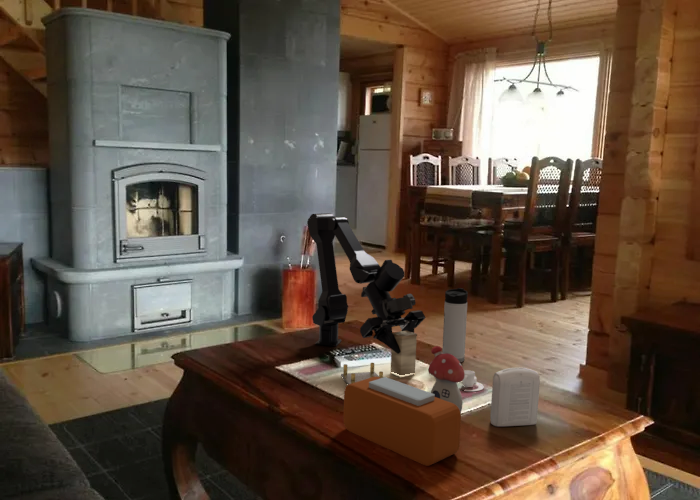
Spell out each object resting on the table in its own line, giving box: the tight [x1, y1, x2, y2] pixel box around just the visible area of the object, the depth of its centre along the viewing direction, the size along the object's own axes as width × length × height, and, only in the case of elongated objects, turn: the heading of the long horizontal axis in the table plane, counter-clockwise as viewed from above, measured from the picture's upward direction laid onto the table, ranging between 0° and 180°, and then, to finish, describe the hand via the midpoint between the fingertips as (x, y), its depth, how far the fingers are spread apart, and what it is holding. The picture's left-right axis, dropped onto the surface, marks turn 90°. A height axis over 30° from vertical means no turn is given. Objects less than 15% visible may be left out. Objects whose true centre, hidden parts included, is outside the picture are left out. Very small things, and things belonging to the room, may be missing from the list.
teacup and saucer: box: [462, 369, 485, 392], centre depth 166 cm, size 9×8×4 cm
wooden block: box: [390, 330, 418, 375], centre depth 173 cm, size 4×5×11 cm
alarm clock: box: [342, 376, 462, 467], centre depth 132 cm, size 24×8×11 cm, turn 44°
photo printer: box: [489, 366, 541, 427], centre depth 143 cm, size 10×4×12 cm, turn 103°
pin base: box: [340, 362, 384, 385], centre depth 167 cm, size 9×9×3 cm
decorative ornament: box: [428, 345, 465, 413], centre depth 146 cm, size 9×6×15 cm
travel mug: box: [441, 287, 468, 363], centre depth 187 cm, size 6×7×20 cm
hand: (407, 351), depth 172 cm, fingers closed on wooden block, 5 cm apart
